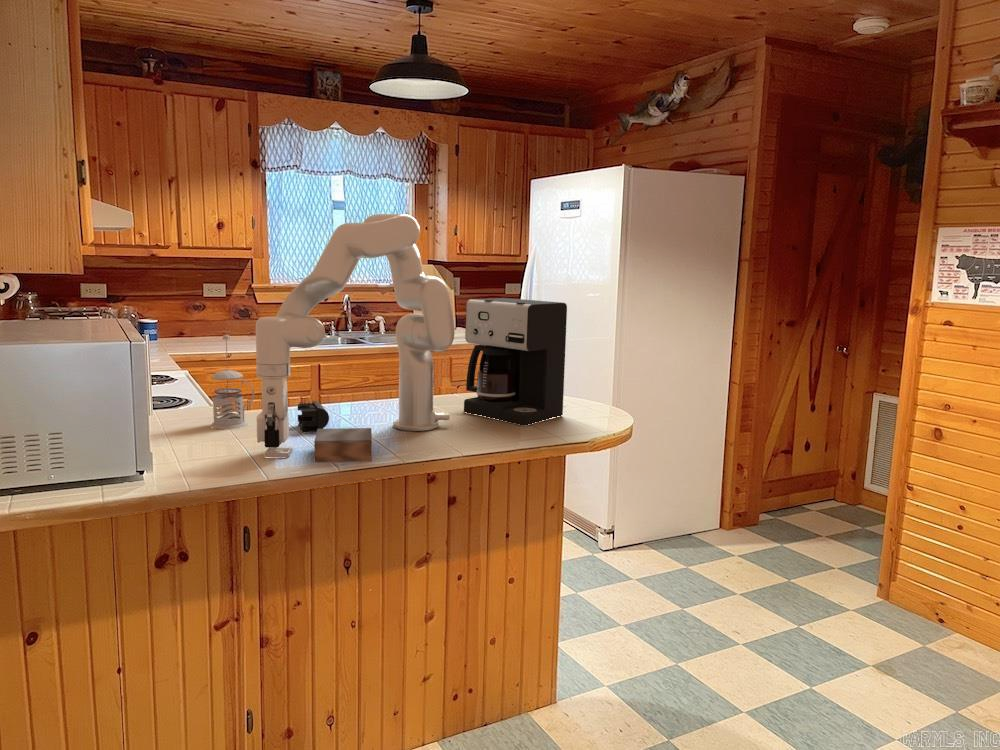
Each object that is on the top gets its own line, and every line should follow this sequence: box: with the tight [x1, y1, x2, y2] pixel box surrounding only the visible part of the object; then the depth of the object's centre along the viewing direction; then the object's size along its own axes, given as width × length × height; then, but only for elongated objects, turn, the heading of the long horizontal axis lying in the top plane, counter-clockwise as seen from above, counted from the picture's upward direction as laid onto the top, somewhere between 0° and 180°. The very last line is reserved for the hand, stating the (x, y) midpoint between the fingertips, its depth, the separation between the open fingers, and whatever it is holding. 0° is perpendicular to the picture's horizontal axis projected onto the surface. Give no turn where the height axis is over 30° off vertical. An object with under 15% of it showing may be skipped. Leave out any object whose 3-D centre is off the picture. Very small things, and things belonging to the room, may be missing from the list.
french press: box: [210, 334, 255, 430], centre depth 205 cm, size 10×12×25 cm
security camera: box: [256, 411, 293, 458], centre depth 177 cm, size 6×7×10 cm
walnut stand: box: [314, 427, 373, 463], centre depth 180 cm, size 13×12×5 cm
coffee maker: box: [463, 297, 568, 426], centre depth 228 cm, size 28×20×35 cm
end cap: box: [297, 400, 330, 433], centre depth 205 cm, size 10×7×7 cm
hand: (274, 441), depth 178 cm, fingers open, 9 cm apart
